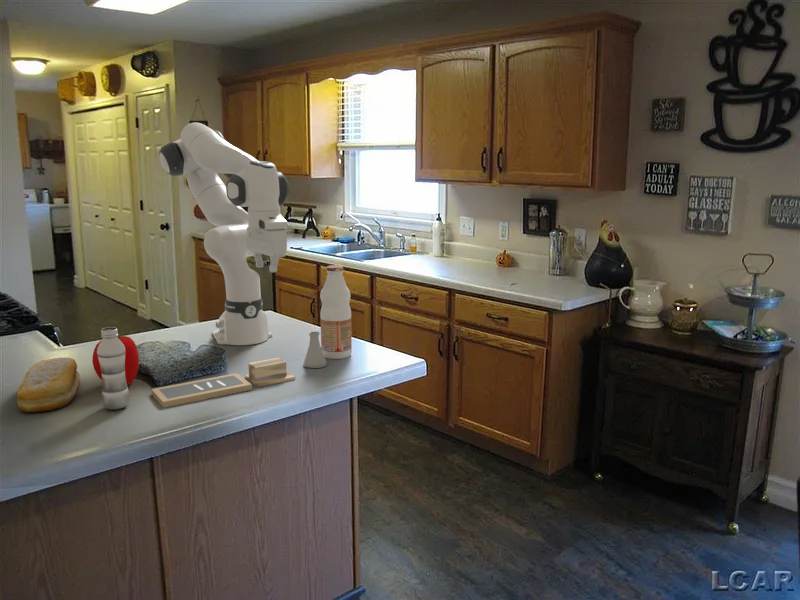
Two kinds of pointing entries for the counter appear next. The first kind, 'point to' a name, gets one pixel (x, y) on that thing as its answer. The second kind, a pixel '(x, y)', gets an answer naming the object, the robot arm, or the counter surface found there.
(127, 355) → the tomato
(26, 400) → the bread
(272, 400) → the counter surface
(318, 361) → the flask
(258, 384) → the pad
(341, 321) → the fruit juice
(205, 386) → the chalkboard
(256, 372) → the block
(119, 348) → the plastic bottle
